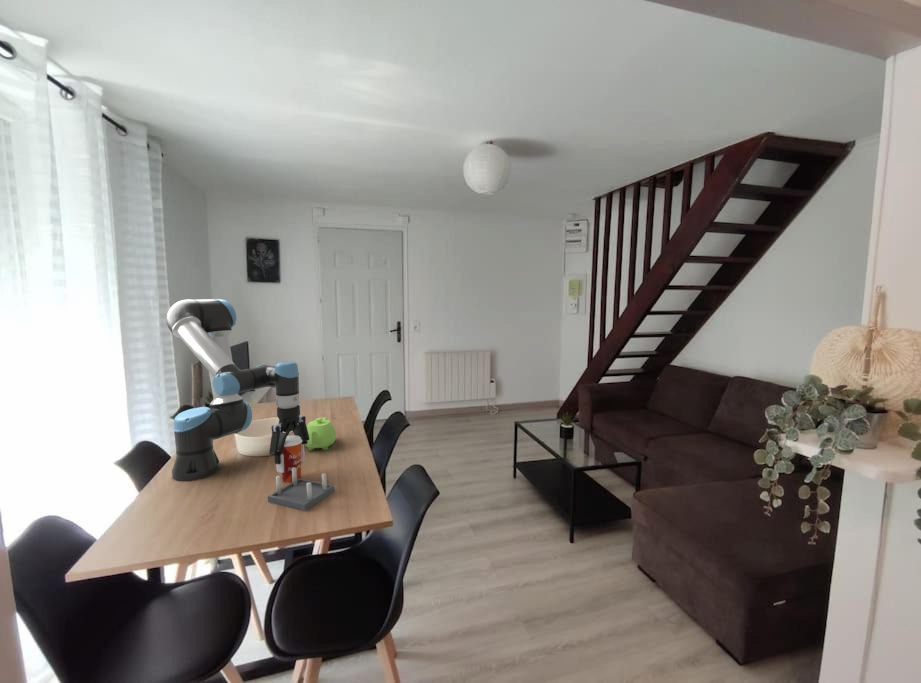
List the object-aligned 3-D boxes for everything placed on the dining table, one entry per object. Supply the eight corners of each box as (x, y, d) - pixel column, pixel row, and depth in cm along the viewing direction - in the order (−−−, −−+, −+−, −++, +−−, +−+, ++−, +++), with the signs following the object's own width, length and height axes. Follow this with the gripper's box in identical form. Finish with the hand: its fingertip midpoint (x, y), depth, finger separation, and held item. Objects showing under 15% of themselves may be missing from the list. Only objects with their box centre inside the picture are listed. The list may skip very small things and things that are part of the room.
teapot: (330, 455, 170) (328, 425, 169) (296, 456, 170) (295, 426, 168) (340, 438, 190) (339, 411, 189) (311, 439, 189) (310, 412, 188)
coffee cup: (295, 484, 144) (293, 443, 142) (274, 482, 145) (272, 441, 144) (308, 474, 152) (307, 435, 150) (288, 472, 154) (286, 433, 152)
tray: (267, 502, 132) (266, 480, 131) (299, 483, 145) (298, 463, 144) (304, 511, 126) (303, 488, 126) (334, 491, 139) (333, 470, 139)
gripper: (271, 415, 134) (275, 480, 137) (318, 399, 154) (320, 456, 157) (254, 412, 137) (258, 477, 139) (302, 397, 157) (305, 453, 160)
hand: (291, 466), depth 148 cm, fingers open, 9 cm apart
